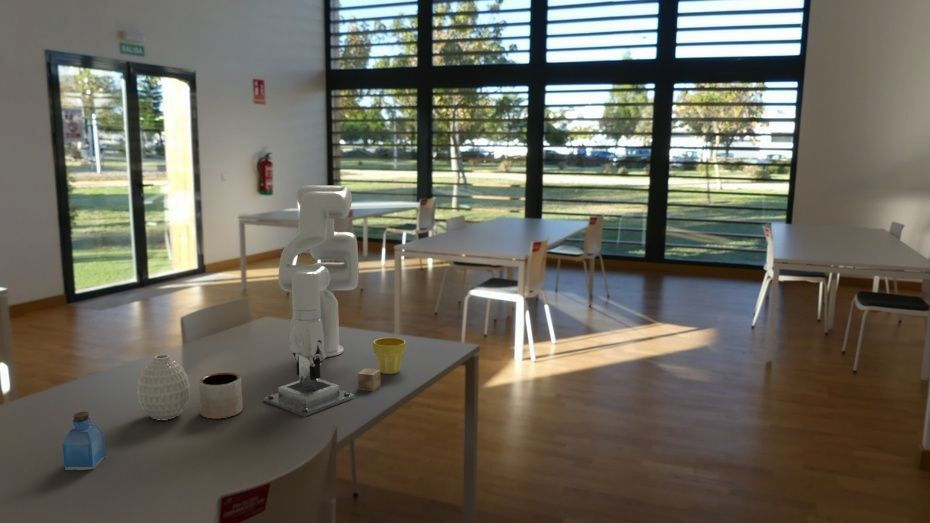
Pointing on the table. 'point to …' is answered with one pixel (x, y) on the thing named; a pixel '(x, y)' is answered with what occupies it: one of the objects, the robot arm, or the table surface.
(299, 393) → the square metal socket
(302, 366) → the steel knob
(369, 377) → the wooden cube
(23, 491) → the table surface
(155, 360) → the vase
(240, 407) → the planter
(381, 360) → the plant pot
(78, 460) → the perfume bottle
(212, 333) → the table surface
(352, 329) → the table surface
